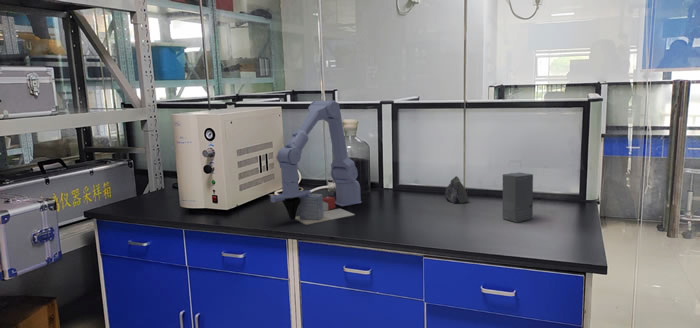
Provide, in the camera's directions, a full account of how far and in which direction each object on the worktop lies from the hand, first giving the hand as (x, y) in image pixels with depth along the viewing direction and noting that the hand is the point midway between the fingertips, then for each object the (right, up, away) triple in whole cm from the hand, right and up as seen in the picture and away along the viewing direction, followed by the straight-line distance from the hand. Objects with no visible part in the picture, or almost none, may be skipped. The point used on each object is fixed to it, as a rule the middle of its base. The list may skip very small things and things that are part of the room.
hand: (292, 218), depth 175 cm
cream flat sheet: (+11, 0, +6) cm, 13 cm away
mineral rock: (+63, +5, +24) cm, 68 cm away
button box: (+7, +1, +15) cm, 17 cm away
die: (+12, +2, +18) cm, 22 cm away
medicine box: (+7, 0, +4) cm, 8 cm away
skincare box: (+78, 0, -5) cm, 78 cm away
